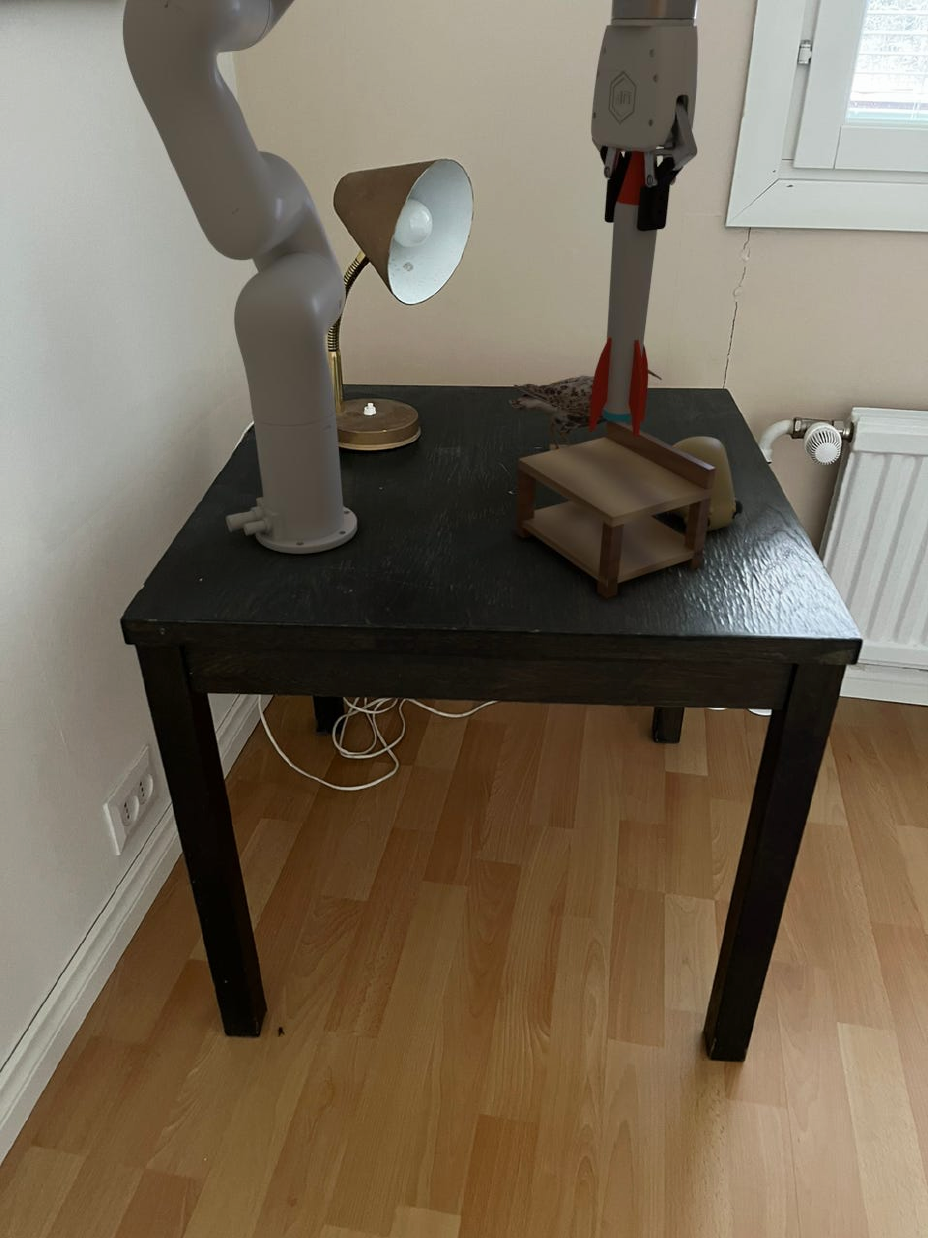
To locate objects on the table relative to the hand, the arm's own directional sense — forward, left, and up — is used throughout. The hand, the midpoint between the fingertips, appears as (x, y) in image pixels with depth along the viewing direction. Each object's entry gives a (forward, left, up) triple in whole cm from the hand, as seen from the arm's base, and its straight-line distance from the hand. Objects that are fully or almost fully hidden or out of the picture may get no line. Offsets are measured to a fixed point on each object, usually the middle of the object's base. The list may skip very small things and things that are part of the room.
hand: (634, 223), depth 94 cm
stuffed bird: (+13, +23, -37) cm, 45 cm away
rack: (0, 0, -37) cm, 37 cm away
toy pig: (+15, +1, -37) cm, 40 cm away
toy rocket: (0, 0, -21) cm, 21 cm away
